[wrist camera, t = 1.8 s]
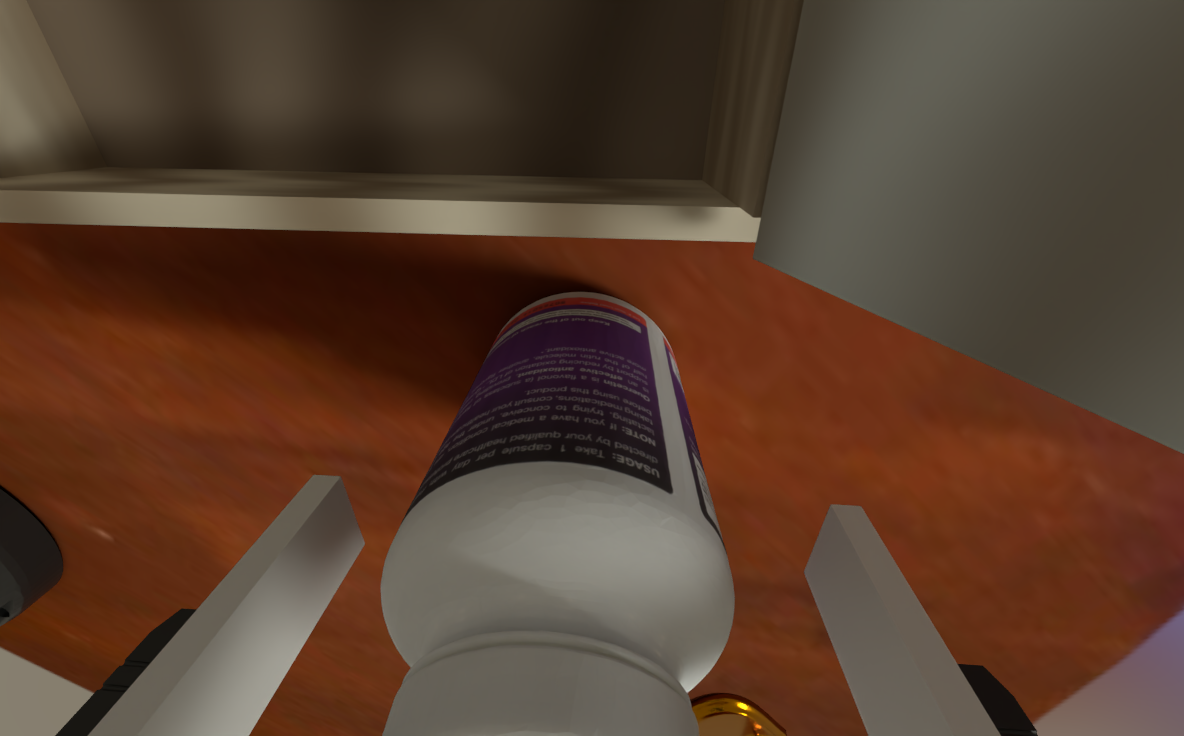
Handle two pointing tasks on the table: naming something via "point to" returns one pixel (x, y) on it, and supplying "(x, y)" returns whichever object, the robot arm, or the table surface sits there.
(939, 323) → the grey wooden hinged box
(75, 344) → the table surface
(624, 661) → the pill bottle
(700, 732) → the figurine
